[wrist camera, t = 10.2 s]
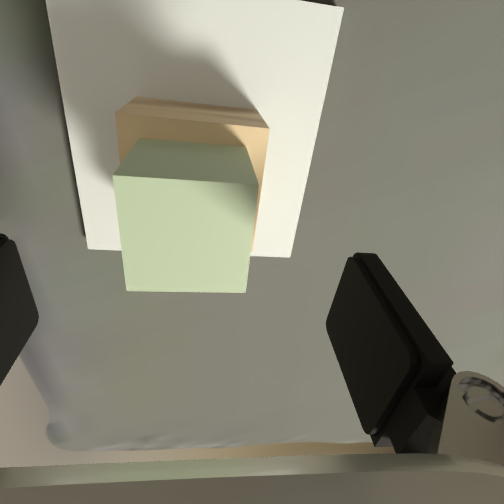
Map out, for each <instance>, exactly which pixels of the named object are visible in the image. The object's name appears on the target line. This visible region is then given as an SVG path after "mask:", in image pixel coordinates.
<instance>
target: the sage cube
mask: <svg viewBox="0 0 504 504" xmlns="http://www.w3.org/2000/svg"><path fill="white" fill-rule="evenodd" d="M112 176H113V184H114V192H115V200H116V208H117V217H118V225H119V233H120V241H121V249H122V257H123V266H124V274H125V282H126V290H127V291H161V292H229V293H245V292H246V284H247V277H248V269H249V261H250V253H251V245H252V237H253V229H254V221H255V213H256V205H257V197H258V189H259V183H258V180H257V177H256V174H255V171H254V169H253V166H252V163H251V160H250V157H249V154H248V151H247V148H246V147H242V146H230V145H218V144H206V143H193V142H181V141H169V140H156V139H144V138H139V139H138V141H137V142H136V143H135V145H134V146H133V147H132V149H131V150H130V152H129V153H128V154H127V156H126V157H125V159H124V160H123V161H122V163H121V164H120V166H119V167H118V168H117V170H116V171H115V172H114V174H113V175H112Z"/></svg>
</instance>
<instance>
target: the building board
mask: <svg viewBox="0 0 504 504" xmlns="http://www.w3.org/2000/svg"><path fill="white" fill-rule="evenodd" d="M45 1H46V6H47V12H48V18H49V24H50V30H51V35H52V41H53V47H54V53H55V59H56V64H57V70H58V76H59V82H60V88H61V94H62V99H63V105H64V111H65V117H66V123H67V128H68V134H69V140H70V146H71V152H72V157H73V163H74V169H75V175H76V181H77V186H78V192H79V198H80V204H81V210H82V216H83V221H84V227H85V233H86V239H87V245H88V249H98V250H122V249H121V241H120V233H119V225H118V217H117V208H116V200H115V192H114V184H113V176H112V175H113V174H114V172H115V171H116V170H117V168H118V167H119V166H120V159H119V148H118V138H117V128H116V117H115V112H117V111H118V110H119V109H121V108H122V107H123V106H125V105H126V104H127V103H128V102H130V101H131V100H132V99H134V98H135V97H145V98H154V99H163V100H172V101H181V102H190V103H199V104H208V105H217V106H227V107H236V108H245V109H254V110H258V112H259V113H260V115H261V116H262V118H263V119H264V121H265V122H266V124H267V125H268V127H269V128H270V131H269V138H268V145H267V152H266V159H265V166H264V173H263V180H262V187H261V194H260V201H259V208H258V216H257V223H256V230H255V237H254V244H253V251H252V252H251V253H250V256H268V257H290V255H291V251H292V246H293V241H294V237H295V232H296V227H297V223H298V218H299V214H300V209H301V204H302V200H303V195H304V190H305V186H306V181H307V177H308V172H309V167H310V163H311V158H312V154H313V149H314V144H315V140H316V135H317V130H318V126H319V121H320V117H321V112H322V107H323V103H324V98H325V93H326V89H327V84H328V80H329V75H330V70H331V66H332V61H333V56H334V52H335V47H336V43H337V38H338V33H339V29H340V24H341V19H342V15H343V10H344V8H343V7H337V6H331V5H325V4H319V3H313V2H307V1H301V0H45Z"/></svg>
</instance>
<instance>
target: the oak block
mask: <svg viewBox="0 0 504 504" xmlns="http://www.w3.org/2000/svg"><path fill="white" fill-rule="evenodd" d="M115 117H116V128H117V138H118V148H119V159H120V164H121V163H122V161H123V160H124V159H125V157H126V156H127V154H128V153H129V152H130V150H131V149H132V147H133V146H134V145H135V143H136V142H137V141H138V139H139V138H144V139H156V140H169V141H181V142H193V143H206V144H218V145H230V146H242V147H246V148H247V151H248V154H249V157H250V160H251V163H252V166H253V169H254V171H255V174H256V177H257V180H258V183H259V189H258V197H257V205H256V213H255V221H254V229H253V237H252V245H251V252H252V251H253V244H254V237H255V230H256V223H257V216H258V208H259V201H260V194H261V187H262V180H263V173H264V166H265V159H266V152H267V145H268V138H269V131H270V128H269V127H268V125H267V124H266V122H265V121H264V119H263V118H262V116H261V115H260V113H259V112H258V110H254V109H245V108H236V107H227V106H217V105H208V104H199V103H190V102H181V101H172V100H163V99H154V98H145V97H135V98H134V99H132V100H131V101H130V102H128V103H127V104H126V105H125V106H123V107H122V108H121V109H119V110H118V111H117V112H115Z"/></svg>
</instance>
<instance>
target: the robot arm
mask: <svg viewBox="0 0 504 504" xmlns="http://www.w3.org/2000/svg"><path fill="white" fill-rule="evenodd" d="M38 318H39V315H38V311H37V307H36V304H35V301H34V298H33V295H32V292H31V289H30V286H29V283H28V280H27V277H26V274H25V271H24V268H23V265H22V262H21V259H20V256H19V253H18V250H17V247H16V244H15V242H14V241H13V240H9V239H8V237H7V236H6V235H4V234H0V385H1V384H2V382H3V380H4V379H5V377H6V375H7V374H8V372H9V370H10V369H11V367H12V365H13V364H14V362H15V360H16V359H17V357H18V355H19V354H20V352H21V350H22V349H23V347H24V346H25V344H26V342H27V341H28V339H29V337H30V336H31V334H32V332H33V331H34V329H35V327H36V325H37V323H38ZM326 329H327V332H328V335H329V338H330V341H331V343H332V346H333V349H334V351H335V354H336V357H337V360H338V362H339V365H340V368H341V371H342V373H343V376H344V379H345V382H346V384H347V387H348V390H349V392H350V395H351V398H352V401H353V403H354V406H355V409H356V412H357V414H358V417H359V420H360V422H361V425H362V428H363V430H364V432H365V433H366V434H370V436H371V439H372V441H373V444H374V446H375V447H386V446H387V447H389V446H393V447H394V450H395V452H396V454H348V455H347V454H346V455H316V456H289V457H259V458H232V459H231V458H229V459H203V460H177V461H153V462H152V461H151V462H126V463H103V464H78V465H55V466H32V467H9V468H0V504H504V387H502V386H501V385H500V384H499V383H497V382H495V381H494V380H492V379H490V378H489V377H486V376H484V375H481V374H479V373H475V372H470V371H464V372H459V373H457V374H456V372H455V371H454V369H453V368H452V365H453V361H452V360H451V359H450V357H449V356H448V354H447V353H446V351H445V350H444V349H443V347H442V346H441V344H440V343H439V342H438V340H437V339H436V337H435V336H434V335H433V333H432V332H431V330H430V329H429V328H428V326H427V325H426V323H425V322H424V320H423V319H422V318H421V316H420V315H419V313H418V312H417V311H416V309H415V308H414V306H413V305H412V304H411V302H410V301H409V299H408V298H407V297H406V295H405V294H404V292H403V291H402V290H401V288H400V287H399V285H398V284H397V282H396V281H395V280H394V278H393V277H392V275H391V274H390V273H389V271H388V270H387V268H386V267H385V266H384V264H383V263H382V261H381V260H380V259H379V257H378V256H377V255H376V254H374V253H355V254H354V255H353V257H349V258H348V260H347V262H346V265H345V268H344V271H343V273H342V276H341V279H340V282H339V285H338V288H337V291H336V294H335V297H334V300H333V302H332V305H331V308H330V311H329V314H328V317H327V320H326Z"/></svg>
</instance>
